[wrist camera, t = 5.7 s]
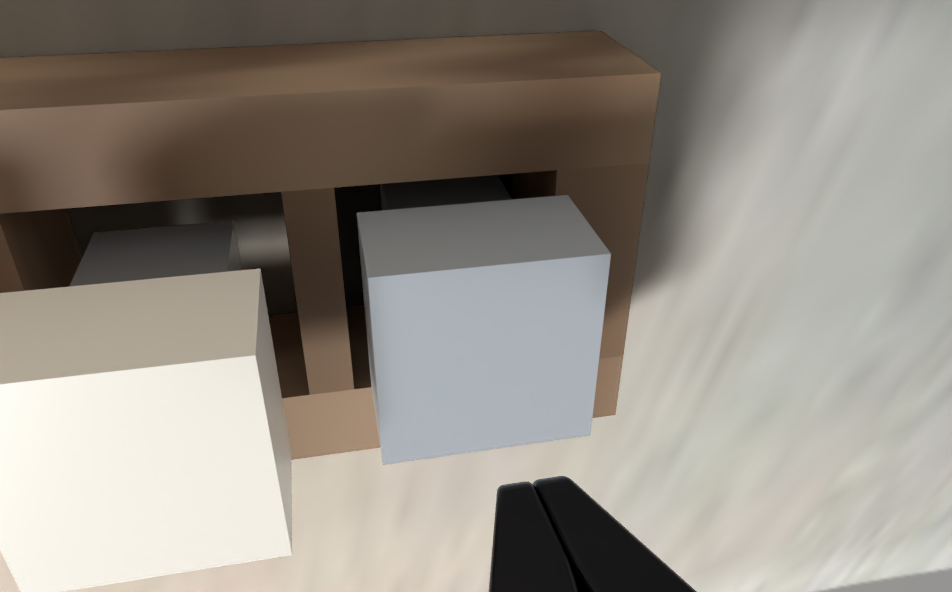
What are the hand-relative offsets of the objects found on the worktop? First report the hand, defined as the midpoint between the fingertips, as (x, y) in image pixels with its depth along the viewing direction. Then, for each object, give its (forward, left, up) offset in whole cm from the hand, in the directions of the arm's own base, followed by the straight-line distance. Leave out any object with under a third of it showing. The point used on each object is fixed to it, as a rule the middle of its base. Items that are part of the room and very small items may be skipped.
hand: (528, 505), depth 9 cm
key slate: (0, 0, -8) cm, 8 cm away
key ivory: (+5, 0, -6) cm, 8 cm away
